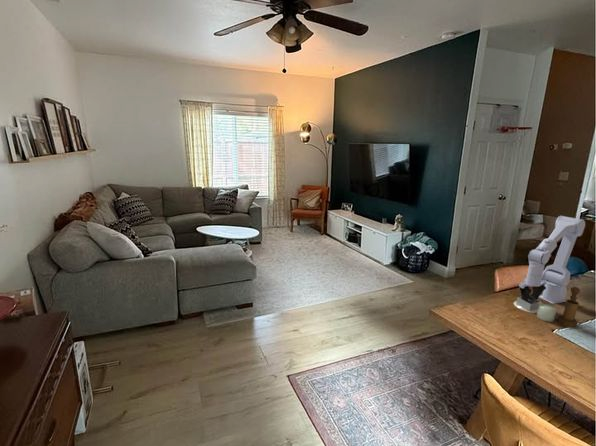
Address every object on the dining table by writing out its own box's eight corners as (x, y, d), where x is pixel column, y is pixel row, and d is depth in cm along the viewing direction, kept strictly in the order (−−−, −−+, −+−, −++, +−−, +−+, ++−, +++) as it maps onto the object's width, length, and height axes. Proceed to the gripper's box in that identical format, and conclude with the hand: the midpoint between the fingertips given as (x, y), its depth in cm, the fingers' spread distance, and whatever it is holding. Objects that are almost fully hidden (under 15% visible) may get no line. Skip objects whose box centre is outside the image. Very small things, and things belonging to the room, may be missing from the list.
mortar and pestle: (580, 328, 136) (589, 291, 131) (563, 327, 137) (572, 290, 133) (570, 320, 142) (579, 284, 138) (554, 319, 143) (562, 283, 139)
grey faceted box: (522, 300, 160) (523, 293, 159) (540, 309, 151) (541, 302, 150) (511, 301, 158) (513, 295, 157) (529, 311, 150) (530, 304, 149)
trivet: (525, 299, 161) (525, 299, 161) (549, 311, 150) (549, 311, 150) (507, 302, 158) (507, 302, 158) (530, 315, 147) (530, 314, 147)
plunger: (527, 302, 157) (529, 291, 155) (537, 307, 152) (539, 296, 150) (519, 303, 155) (521, 293, 154) (529, 308, 151) (531, 297, 149)
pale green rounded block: (543, 314, 148) (546, 302, 146) (557, 321, 142) (560, 309, 140) (533, 315, 146) (535, 304, 145) (546, 323, 140) (549, 311, 139)
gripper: (538, 269, 155) (533, 293, 158) (515, 272, 151) (510, 297, 155) (552, 274, 148) (546, 300, 152) (529, 278, 145) (524, 304, 148)
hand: (529, 299), depth 153 cm, fingers open, 6 cm apart
